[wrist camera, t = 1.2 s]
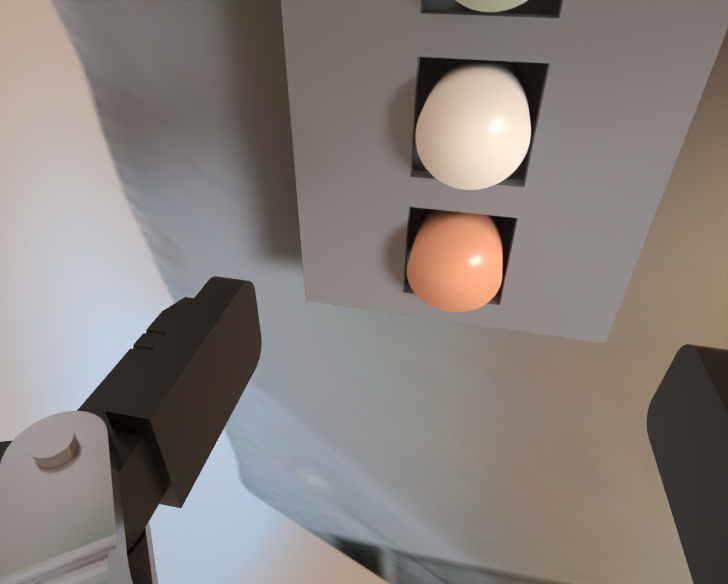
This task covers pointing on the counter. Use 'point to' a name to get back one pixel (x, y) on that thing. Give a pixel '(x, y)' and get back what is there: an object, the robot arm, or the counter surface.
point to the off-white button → (474, 124)
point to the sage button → (491, 4)
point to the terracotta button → (456, 260)
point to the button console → (532, 177)
